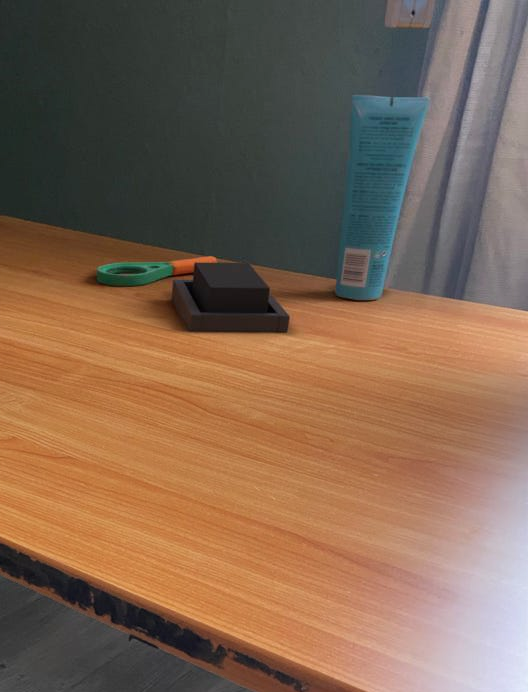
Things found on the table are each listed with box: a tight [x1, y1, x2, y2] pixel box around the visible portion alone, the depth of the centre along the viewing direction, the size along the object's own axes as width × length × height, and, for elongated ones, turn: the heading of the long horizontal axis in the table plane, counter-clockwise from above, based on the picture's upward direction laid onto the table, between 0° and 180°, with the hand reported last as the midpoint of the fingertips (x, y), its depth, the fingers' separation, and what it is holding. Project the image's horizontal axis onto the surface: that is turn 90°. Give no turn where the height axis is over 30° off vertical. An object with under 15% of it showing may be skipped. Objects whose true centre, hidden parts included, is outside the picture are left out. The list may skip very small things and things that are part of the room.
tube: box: [334, 94, 431, 301], centre depth 103 cm, size 7×5×19 cm, turn 85°
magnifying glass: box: [96, 255, 218, 287], centre depth 114 cm, size 15×6×2 cm, turn 116°
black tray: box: [171, 279, 290, 334], centre depth 99 cm, size 9×15×2 cm, turn 1°
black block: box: [192, 262, 271, 313], centre depth 98 cm, size 6×11×4 cm, turn 1°
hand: (406, 27), depth 73 cm, fingers closed
